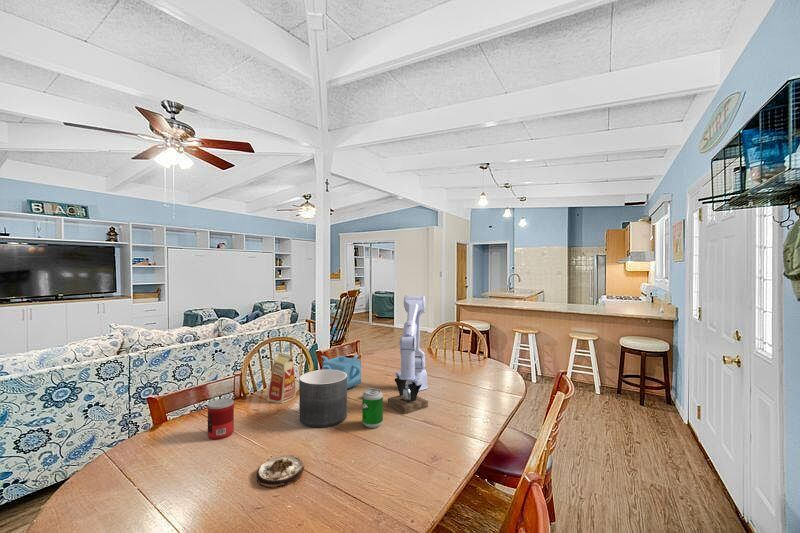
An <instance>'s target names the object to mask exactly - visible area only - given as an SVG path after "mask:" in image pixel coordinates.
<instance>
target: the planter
mask: <svg viewBox="0 0 800 533" xmlns="http://www.w3.org/2000/svg"><path fill="white" fill-rule="evenodd" d="M298 383H299V384H298V385H299V388H298V390H299V394H298V395H299V397H298V398H299V400H298V401H299V402H298V404H299V409H298V410H299V411H298V412H299V418H298V420H299V422H300V424H301V425H303V426H305V427H307V428H308V427H309V428H316V429H317V428H319V429H321V428H328V427H334V426H336V425H339V424H340V423H343V422H345V420H346V419H347V417H348V410H347V409H348V389H347V374H346V373H345V372H342V371H338V370H322V369H317V370H312V371H308V372H306V373H303V374H302V375H300V376H299V382H298Z"/></svg>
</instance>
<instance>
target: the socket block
mask: <svg viewBox="0 0 800 533" xmlns="http://www.w3.org/2000/svg"><path fill="white" fill-rule="evenodd" d="M387 406H389V407H392V408H393V409H394V410H396V411H399V412H400V413H402V414H404V415H407V414H410V413H413V412H417V411H420V410H423V409H426V408H428V407H429V401H428V399H425V398H423V397H421V396H418V395H417V398H416V401H413V402H412V401H411V402H407V403H406V402H404V401H403V395H402V396H400V394H399V395H395V396H391V397H389V398H387Z"/></svg>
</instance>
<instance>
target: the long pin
mask: <svg viewBox="0 0 800 533" xmlns="http://www.w3.org/2000/svg"><path fill="white" fill-rule="evenodd" d="M403 401H404V402H406V403H407V402H411V398H410V390H409V388H403Z"/></svg>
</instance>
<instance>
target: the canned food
mask: <svg viewBox="0 0 800 533" xmlns="http://www.w3.org/2000/svg"><path fill="white" fill-rule="evenodd" d="M234 403H235V402H234V399H232V398H219V399H215V400H212V401H210V402H208V404H207V437H208V439H209V440H212V441H213V440H214V441H217V440H223V439H226V438H229V437H230V436H232V435H233V433H234V428H235V427H234V426H235V424H234V423H235V420H234V418H235V417H234V416H235V414H234V413H235V404H234Z"/></svg>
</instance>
